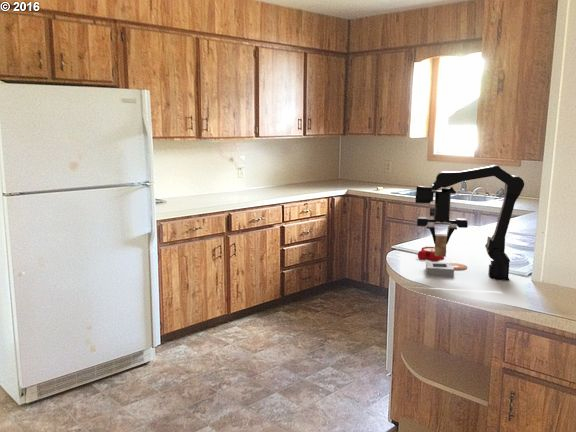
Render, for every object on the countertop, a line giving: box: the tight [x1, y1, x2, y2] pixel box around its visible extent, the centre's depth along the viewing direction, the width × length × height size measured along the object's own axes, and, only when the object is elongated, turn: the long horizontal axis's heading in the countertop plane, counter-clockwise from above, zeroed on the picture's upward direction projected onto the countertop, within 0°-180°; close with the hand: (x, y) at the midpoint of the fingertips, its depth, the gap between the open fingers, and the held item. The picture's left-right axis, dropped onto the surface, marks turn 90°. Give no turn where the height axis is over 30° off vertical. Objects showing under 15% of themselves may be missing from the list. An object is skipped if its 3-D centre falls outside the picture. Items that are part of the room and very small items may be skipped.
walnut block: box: [434, 233, 447, 258], centre depth 206 cm, size 4×4×8 cm
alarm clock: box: [417, 246, 445, 262], centre depth 232 cm, size 10×6×15 cm
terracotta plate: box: [451, 262, 468, 271], centre depth 216 cm, size 9×9×1 cm
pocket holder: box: [425, 261, 455, 278], centre depth 208 cm, size 10×10×4 cm
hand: (440, 243), depth 206 cm, fingers closed on walnut block, 4 cm apart
